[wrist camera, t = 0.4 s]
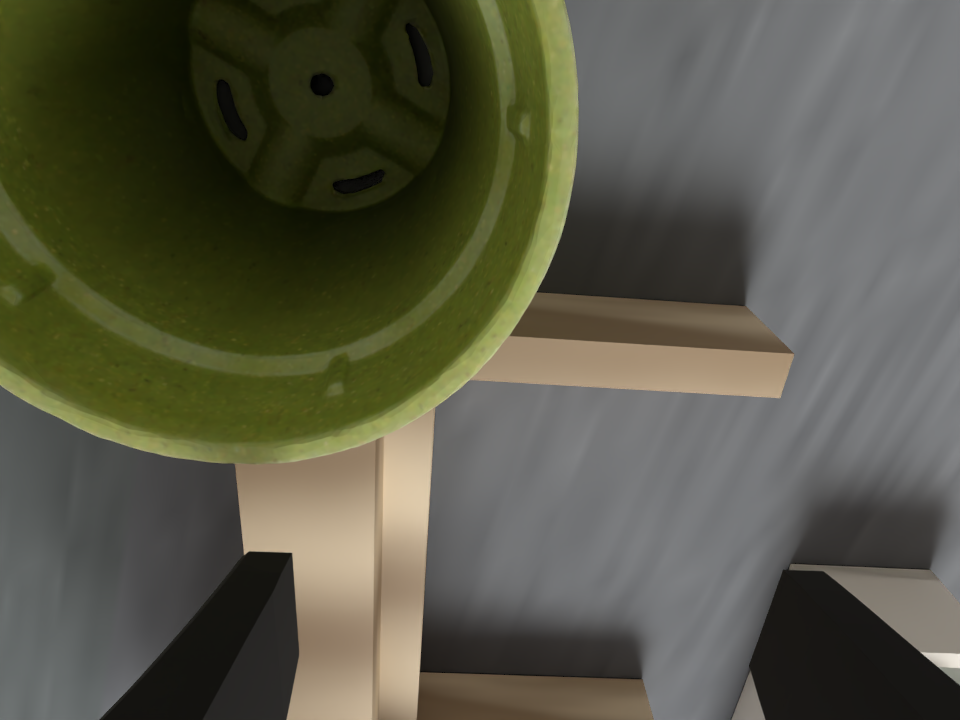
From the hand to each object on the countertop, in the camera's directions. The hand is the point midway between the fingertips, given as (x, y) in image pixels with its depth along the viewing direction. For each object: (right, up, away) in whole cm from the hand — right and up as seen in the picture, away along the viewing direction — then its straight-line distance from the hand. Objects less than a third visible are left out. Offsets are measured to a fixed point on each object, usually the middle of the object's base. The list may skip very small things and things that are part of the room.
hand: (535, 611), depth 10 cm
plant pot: (-5, +10, +6) cm, 13 cm away
